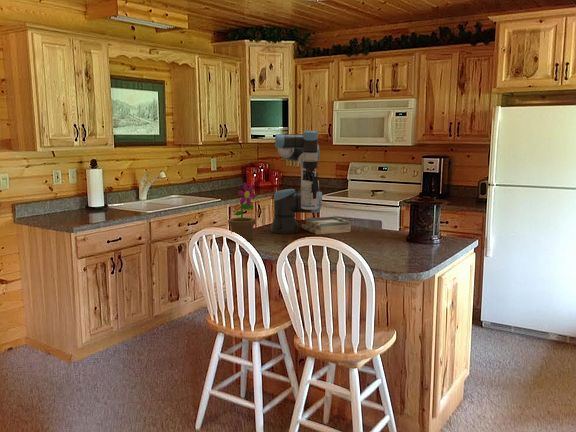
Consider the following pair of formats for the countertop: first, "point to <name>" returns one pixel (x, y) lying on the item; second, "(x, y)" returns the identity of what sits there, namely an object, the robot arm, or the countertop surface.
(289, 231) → the robot arm
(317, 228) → the shallow square tray
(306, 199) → the supplement tub
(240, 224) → the flowerpot
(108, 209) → the countertop surface
